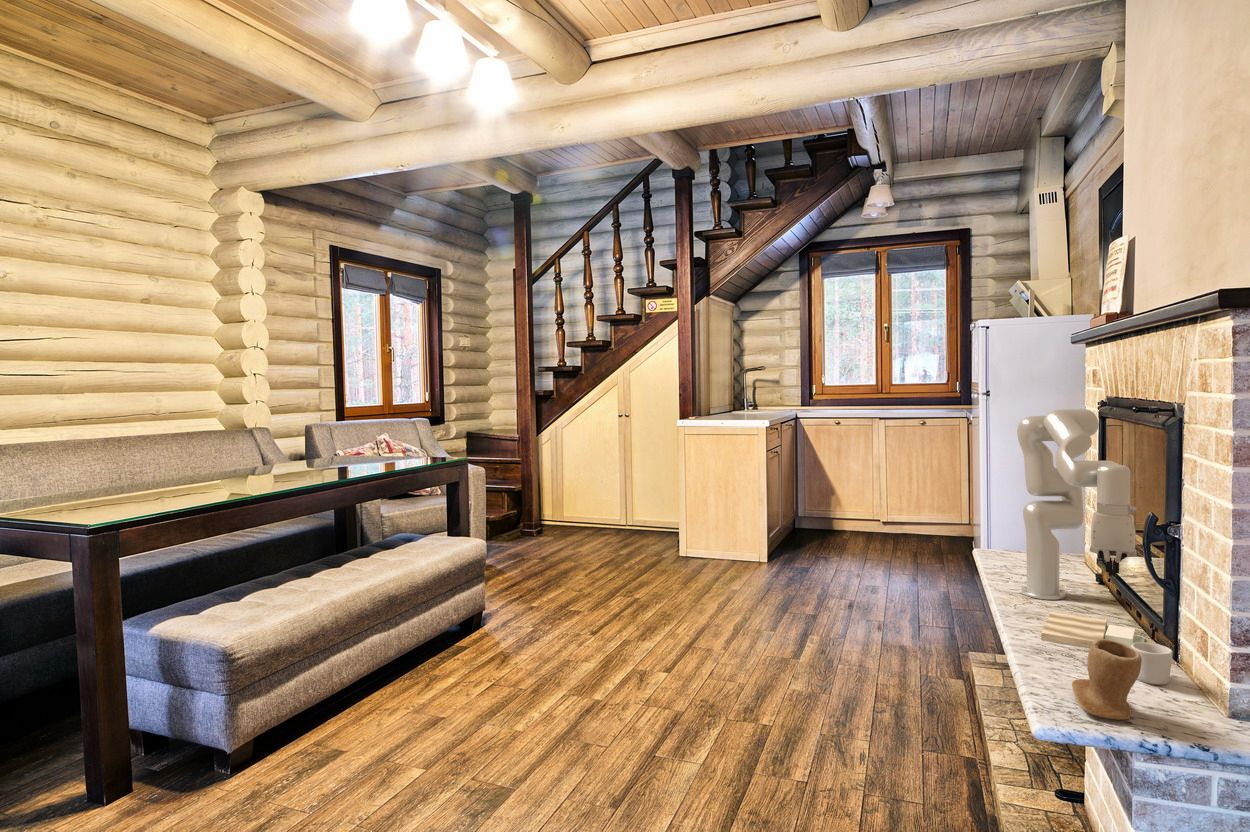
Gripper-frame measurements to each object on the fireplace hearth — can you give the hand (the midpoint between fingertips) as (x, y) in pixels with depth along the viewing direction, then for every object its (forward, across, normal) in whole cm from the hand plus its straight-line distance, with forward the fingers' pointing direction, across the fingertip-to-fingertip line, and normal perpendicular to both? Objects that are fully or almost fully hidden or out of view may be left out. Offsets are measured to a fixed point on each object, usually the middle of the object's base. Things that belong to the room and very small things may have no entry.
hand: (1112, 575), depth 196 cm
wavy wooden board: (+18, +9, +1) cm, 20 cm away
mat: (+18, -3, +5) cm, 19 cm away
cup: (+18, -9, +27) cm, 33 cm away
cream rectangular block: (+17, -2, +1) cm, 17 cm away
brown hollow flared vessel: (+17, -1, +51) cm, 53 cm away
